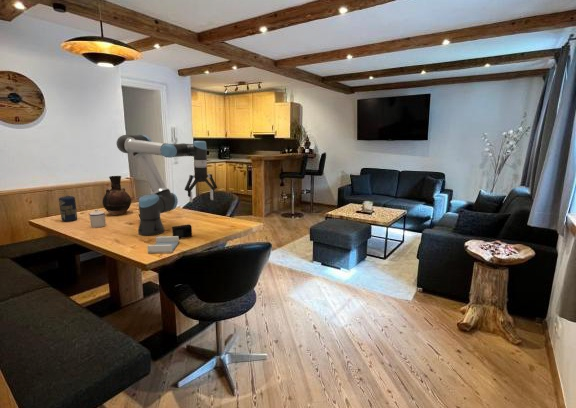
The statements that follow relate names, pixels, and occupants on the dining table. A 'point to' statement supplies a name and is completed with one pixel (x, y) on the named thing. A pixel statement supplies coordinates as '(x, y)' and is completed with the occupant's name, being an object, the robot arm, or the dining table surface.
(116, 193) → the ceramic vessel
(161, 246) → the cradle
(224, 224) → the dining table surface
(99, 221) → the teacup with lid
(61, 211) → the canister
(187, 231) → the digital camera
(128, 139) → the robot arm
